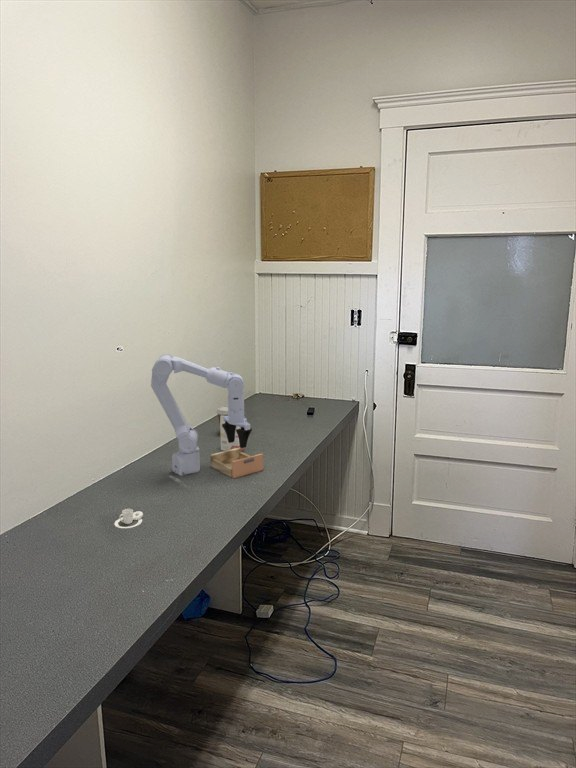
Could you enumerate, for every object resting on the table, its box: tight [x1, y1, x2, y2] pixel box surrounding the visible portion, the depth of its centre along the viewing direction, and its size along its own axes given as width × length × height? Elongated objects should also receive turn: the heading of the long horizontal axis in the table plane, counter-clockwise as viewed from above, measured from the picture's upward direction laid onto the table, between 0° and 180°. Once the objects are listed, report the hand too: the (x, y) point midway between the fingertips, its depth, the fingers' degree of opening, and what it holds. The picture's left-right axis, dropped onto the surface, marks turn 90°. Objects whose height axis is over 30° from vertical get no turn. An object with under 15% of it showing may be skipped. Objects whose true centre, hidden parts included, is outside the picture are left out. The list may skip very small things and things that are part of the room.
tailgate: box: [232, 453, 264, 479], centre depth 199 cm, size 13×2×6 cm, turn 128°
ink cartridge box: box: [219, 415, 245, 452], centre depth 227 cm, size 9×5×15 cm, turn 62°
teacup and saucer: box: [114, 508, 144, 529], centre depth 166 cm, size 9×8×4 cm
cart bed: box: [209, 447, 251, 479], centre depth 205 cm, size 13×14×6 cm
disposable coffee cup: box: [216, 405, 228, 425], centre depth 248 cm, size 10×10×12 cm
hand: (237, 444), depth 203 cm, fingers open, 7 cm apart
